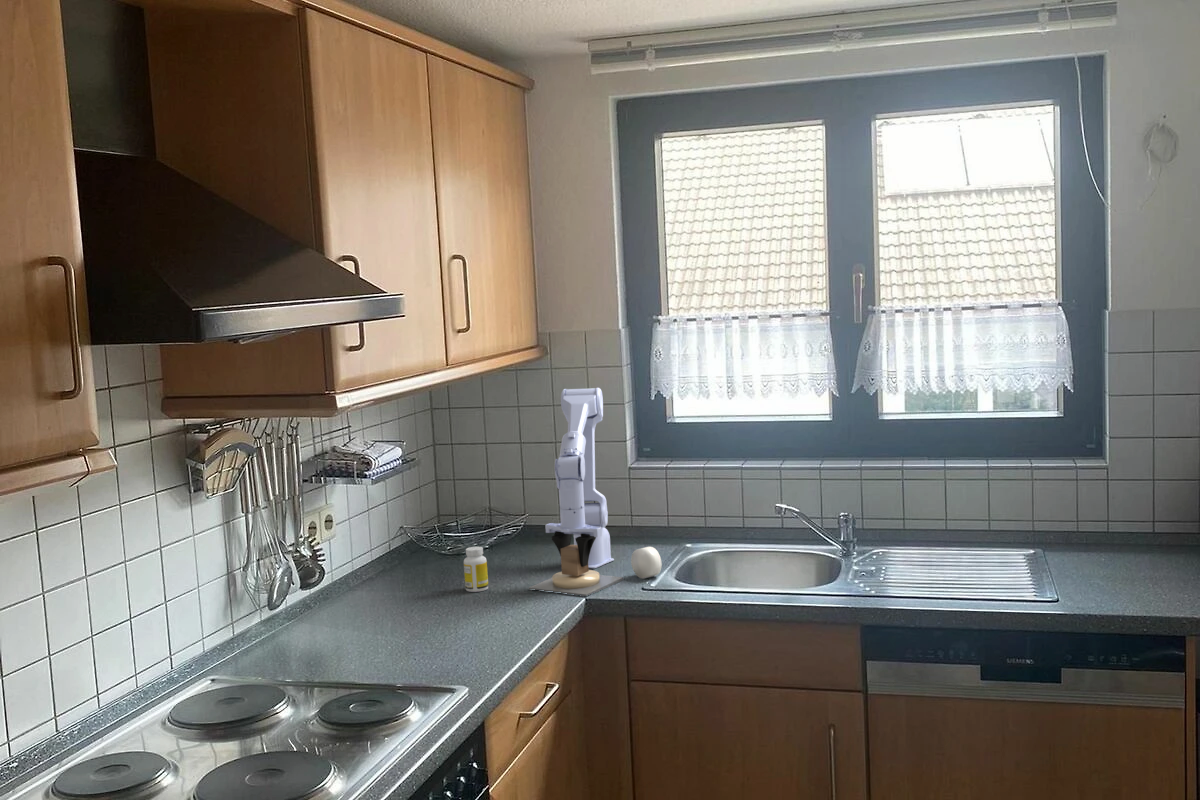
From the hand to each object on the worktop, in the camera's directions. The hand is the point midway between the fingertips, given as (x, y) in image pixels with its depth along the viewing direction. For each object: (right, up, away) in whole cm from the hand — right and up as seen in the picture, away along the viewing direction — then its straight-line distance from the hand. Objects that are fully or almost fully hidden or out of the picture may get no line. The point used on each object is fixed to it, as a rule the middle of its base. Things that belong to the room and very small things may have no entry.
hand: (575, 564), depth 274 cm
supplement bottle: (-23, -6, +1) cm, 24 cm away
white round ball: (+15, 0, +3) cm, 16 cm away
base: (0, -5, 0) cm, 5 cm away
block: (0, -2, 0) cm, 2 cm away
